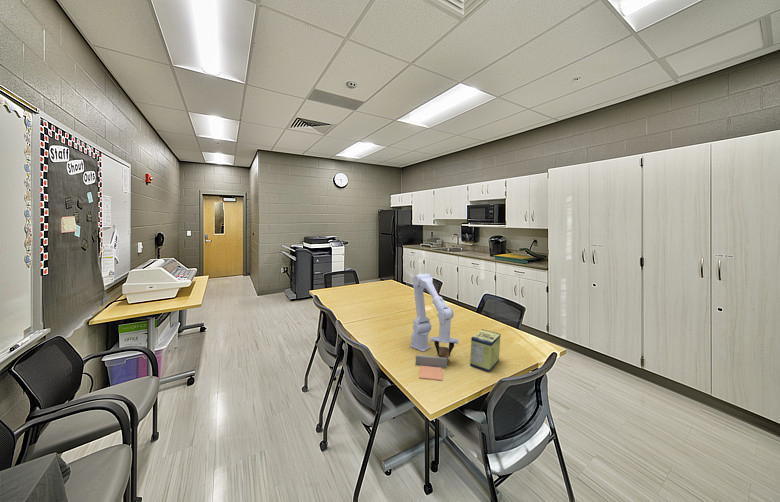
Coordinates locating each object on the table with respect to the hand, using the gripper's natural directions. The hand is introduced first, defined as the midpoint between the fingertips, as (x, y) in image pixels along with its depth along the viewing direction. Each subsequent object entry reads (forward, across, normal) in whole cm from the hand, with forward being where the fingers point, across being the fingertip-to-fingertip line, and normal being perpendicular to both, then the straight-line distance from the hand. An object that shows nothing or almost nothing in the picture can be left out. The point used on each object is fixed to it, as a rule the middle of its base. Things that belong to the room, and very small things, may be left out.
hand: (443, 355), depth 150 cm
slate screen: (+4, -6, -6) cm, 9 cm away
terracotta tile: (+4, -6, -13) cm, 15 cm away
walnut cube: (+2, 0, 0) cm, 2 cm away
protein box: (+4, +22, +3) cm, 22 cm away
